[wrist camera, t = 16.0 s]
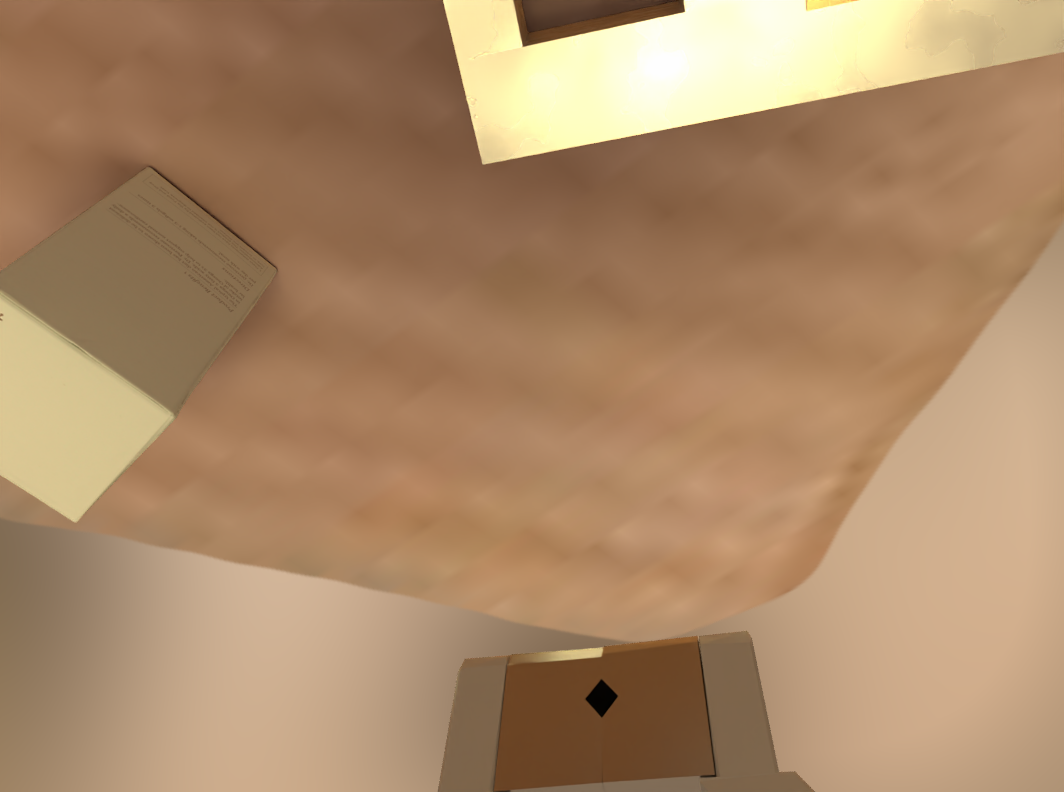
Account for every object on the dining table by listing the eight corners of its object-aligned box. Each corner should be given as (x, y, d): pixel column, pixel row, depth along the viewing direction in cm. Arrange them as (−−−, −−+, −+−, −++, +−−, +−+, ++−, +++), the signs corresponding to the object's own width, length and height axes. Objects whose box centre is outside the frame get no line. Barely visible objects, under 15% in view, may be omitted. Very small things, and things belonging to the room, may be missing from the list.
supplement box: (69, 269, 42) (-112, 411, 31) (150, 160, 39) (-19, 276, 28) (199, 366, 44) (72, 530, 34) (285, 272, 41) (177, 418, 31)
